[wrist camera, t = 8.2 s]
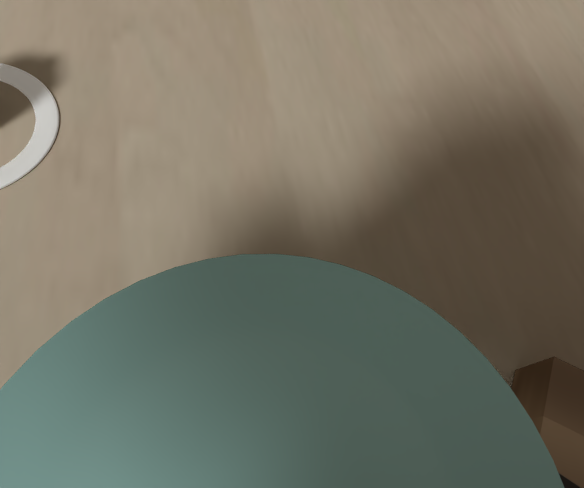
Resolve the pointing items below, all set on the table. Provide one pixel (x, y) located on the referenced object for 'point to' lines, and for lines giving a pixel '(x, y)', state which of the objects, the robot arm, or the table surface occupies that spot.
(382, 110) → the table surface
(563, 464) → the pocket block
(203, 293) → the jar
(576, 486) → the robot arm
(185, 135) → the table surface
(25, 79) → the teacup and saucer
